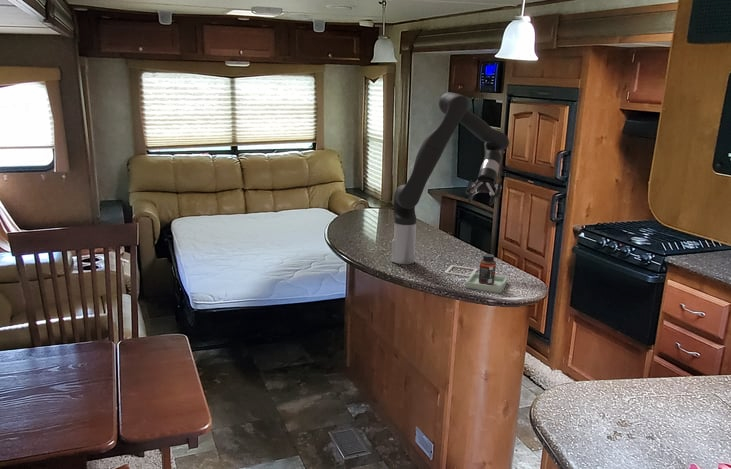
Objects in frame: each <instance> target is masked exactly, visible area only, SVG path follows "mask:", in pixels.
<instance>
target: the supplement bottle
mask: <svg viewBox="0 0 731 469" xmlns="http://www.w3.org/2000/svg"><path fill="white" fill-rule="evenodd" d="M482 258H483V259H481V260H480V262H479V269H478V270H479V272H478V273H479V283H480V284H485V285H493V284H494V280H495V276H496V265H497V262H496V260H495V255H494V254H489V253H484V254H483V255H482Z"/></svg>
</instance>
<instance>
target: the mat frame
mask: <svg viewBox="0 0 731 469" xmlns="http://www.w3.org/2000/svg"><path fill="white" fill-rule="evenodd" d="M453 268H456V269H457V268H458V269H464V270H469V271H471V273H470V274H466V273H465V274H463V273H458V272H451V271H452V269H453ZM478 270H479V269H478V268H476V267H475V268H474V267H468V266H461V265H454V264H451V265H450V266H449V267H448V268H447V269H446V270H445V271H444V272H443V274H445V275H452V276H457V277H466V278H469V277H470V276H471V275H472V273H473V272H475V273H478Z"/></svg>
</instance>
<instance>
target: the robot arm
mask: <svg viewBox="0 0 731 469" xmlns="http://www.w3.org/2000/svg"><path fill="white" fill-rule="evenodd" d="M438 106H439V109H440V111H441V112H442V113H443V114H445V116H444V118H443V120H442V121H441V122H440V124H439V125H438V126H437V127H436V128H434V130H433V131H431V132H430V134H429V135H427V136H426V137H425V139H424V140H423V142H422V144H421V146H420V147H419V149H418V151H417V154H416V156H415V161H414V163H413V164H414V165H413V169H412V172H411V174H410V176H409V178H408V180H407V182H406V184H401V185H398V186H397V188H396V189H395V191H394V193H393V194H394V195H393V196H394V197H393V217H394V224H393V226H394V227H393V239H392V240H391V257H390V258H391V259H390V260H391V261H390V262H391V263H392V262H393V263H395V264H398V265H411V264H414V262H415V256H416V255H415V253H416V252H415V250H416V237H417V236H416V233H417V216H416V211H415V210H416V209H415V208H416V206H418V204H419V202H420V199H421V197H422V194H423V191H424V188H425V187H426V185H427V183H428V180H429V178H431V175H432V173H433V172H434V169H435V167H436V166H437V164H438V163H439V161H440V159H441V157H442V155H443V153H444V152H445V151H444V150H445V149H446V146H447V145H448V143H449V142H450V139H451V137H452V136H453V134H454V132H455V131H456V129H457V127H458V125H459V124H461V125H462V126H464V127H465V128H466V129H467V130H468V131H469V132H470V133H472V134H473V135H474V136H475V137H476V138H478V140H480V141H481V142H482V143H483V142H484V143H483V144H484V157H483V161H482V164H481V165H480V168H479V172H478V176H477V180H476V181H475V182H474V181H472V179H470V180H469V181H468V183H467V186H466V188H465V194H466V195H468V196H467V201H468V203H469V204H471V203H472V202H473V198H474V196H475V195H477V194H478V193H481V194H482V193H483V194H489V196H490V198H489V200H488V201H489V202H488V204H489V206H492V205H494V203H495V200H496V198H498V199H499V198H500V197H501V193H502V188H503V187H502V183H500V182H499V183H496V181H497V176H498V174H499V168H500V163H501V159H502V155H501V153H500V151H505V150H506V149H508V147H509V145H510V140H509V137H508V136H507V135H506V134H505V133H504V132H502V131H500V130H498V129H495V128H493V127H492V126H491V125H489V123H487V122H486V121H485V120H483V119H482V118H480V116H477V115H476V114H474V113H473V112H471V111H470V110H468V108H469V100H468V98H467V97H466V95H462V94H460V93H457V92H456V93H455V92H445V93H444V94H442V95H441V97H440V98H439V101H438ZM495 188H496V193H495V191H494V189H495Z"/></svg>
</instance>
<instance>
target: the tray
mask: <svg viewBox="0 0 731 469" xmlns="http://www.w3.org/2000/svg"><path fill="white" fill-rule="evenodd" d="M472 272H473V271H472ZM472 272H471V273H472ZM508 280H509V277H508V276H500V275H495V280H494V284H493V285H485V284H480V283H479V272H476V273H475V272H473V273H472V275H471V276H470V277H467V279H466V281H465V283H464V288H465V289H471V290H477V291H483V292H491V293H495V294H501V293H502V292H503V291H504V289H505V287H506V285H507V284H508Z"/></svg>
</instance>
